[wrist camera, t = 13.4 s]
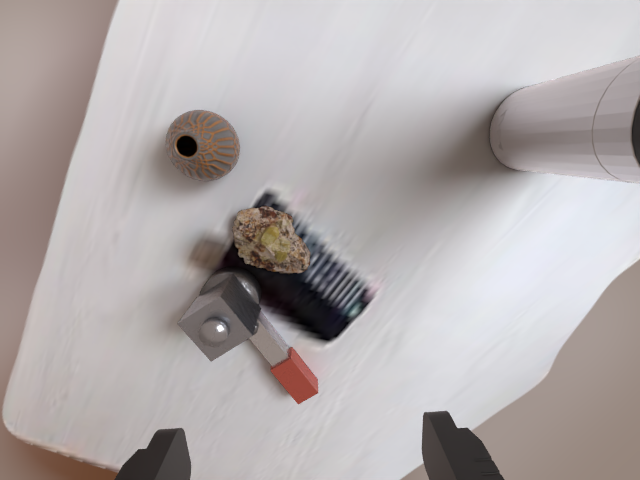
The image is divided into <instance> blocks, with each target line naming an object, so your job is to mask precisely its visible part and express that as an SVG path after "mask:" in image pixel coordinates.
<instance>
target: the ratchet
mask: <svg viewBox="0 0 640 480" xmlns="http://www.w3.org/2000/svg"><path fill="white" fill-rule="evenodd" d="M232 274H234V275H235V276H236V277H237V278H238V280H239V281H240V282H241V283H242V285H243V286H244V287H245V289H246V290H247V291H248V292H249V294H250V295H251V296H252V297H253V299H254V300H255V301H256V303H257V304H258V305H259V303H260V299H261V287H260V284H259V282H258V280H257V279H256V277H255V276H254V275H253V274H252V273H250V272H249V271H247V270H245V269H243V268H239V267H225V268H222V269H220V270H218V271H216V272H215V273H214V274H213V275H212V276H211V277H210V279H209V280H208V281H207V283H206V284H205V285H204V287H203V288H202V290H201V292H200V295H201V294H203V293H204V292H206V291H207V290H209V289H210V288H212V287H214V286H215V285H217V284H218V283H220V282H221V281H223V280H224V279H226V278H228V277H229V276H231V275H232ZM200 295H199V296H200ZM249 339H250V340H251V341H252V342H253V344H254V345H255V346H256V347H257V349H258V350H259V351H260V352H261V353H262V355H263V356H264V357H265V358H266V360H267V361H268V362H269V363H270V364H271V372H272V373H273V374H274V376H275V377H276V378H277V379H278V380H279V382H280V383H281V384H282V385H283V387H284V388H285V389H286V390H287V391H288V393H289V394H290V395H291V396H292V397H293V399H294V400H295V401H296V402H297V403H298V404H300V403H301V402H303V401H305V400H307V399H308V398H310V397H312V396H314V395H315V394H317V393H318V379H317V378H316V377H315V376H314V374H313V373H312V372H311V370H310V369H309V368H308V367H307V365H306V364H305V363H304V362H303V360H302V359H301V358H300V356H299V355H298V354H297V353H296V351H295V350H294V349H293V348H292V347H291V348H289V346H288V345H287V344H286V343H285V341H284V340H283V339H282V338H281V336H280V335H279V334H278V332H277V331H276V330H275V329H274V327H273V326H272V325H271V324H270V322H269V321H268V320H267V318H266V317H265V316H264V315H263V313H262V312H261V311H260V313H259V317H258V320H257V324H256V327H255V330H254V334H253V336H252V337H250V338H249Z"/></svg>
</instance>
